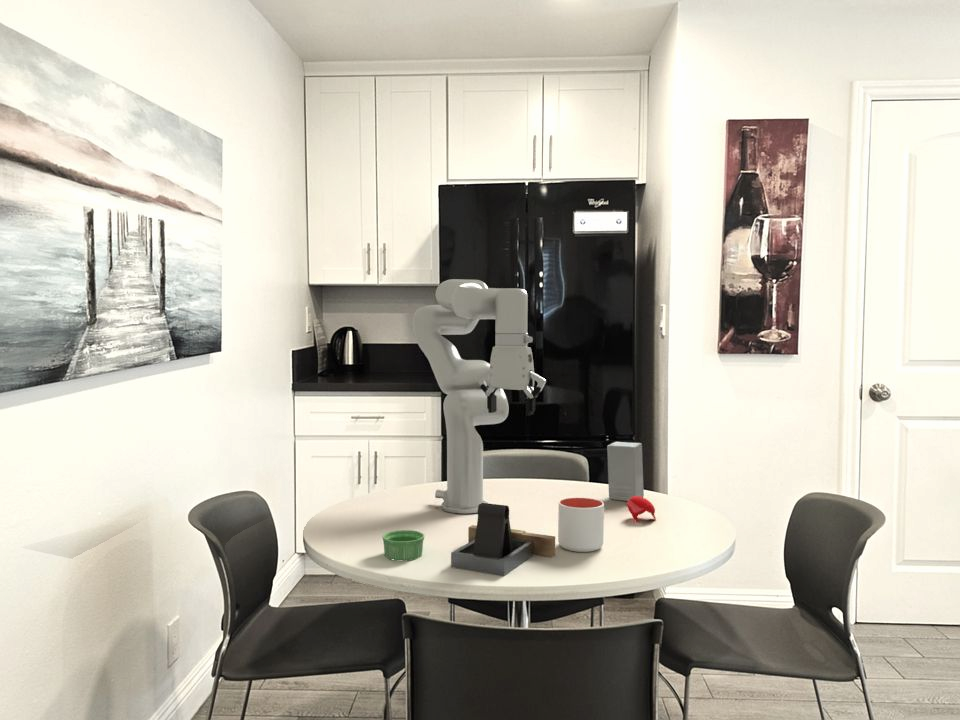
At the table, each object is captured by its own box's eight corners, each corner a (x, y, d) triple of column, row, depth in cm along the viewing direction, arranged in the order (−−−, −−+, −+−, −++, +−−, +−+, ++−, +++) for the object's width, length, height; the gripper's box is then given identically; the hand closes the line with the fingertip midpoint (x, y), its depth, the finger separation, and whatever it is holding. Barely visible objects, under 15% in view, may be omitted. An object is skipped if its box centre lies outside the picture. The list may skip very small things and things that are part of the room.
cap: (627, 511, 195) (648, 499, 195) (621, 497, 201) (642, 486, 200) (641, 533, 198) (662, 521, 198) (635, 519, 204) (655, 508, 203)
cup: (592, 556, 169) (592, 510, 169) (550, 549, 175) (550, 504, 174) (610, 545, 178) (611, 501, 177) (570, 538, 183) (570, 495, 182)
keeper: (451, 567, 162) (451, 552, 162) (483, 547, 175) (483, 534, 175) (504, 575, 157) (504, 561, 156) (533, 555, 170) (533, 541, 170)
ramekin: (389, 564, 164) (389, 543, 164) (377, 552, 172) (377, 532, 172) (430, 559, 168) (430, 538, 167) (416, 547, 176) (416, 528, 176)
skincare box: (644, 498, 222) (644, 442, 222) (634, 503, 216) (635, 446, 216) (615, 494, 227) (616, 440, 226) (605, 499, 221) (606, 443, 220)
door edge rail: (468, 544, 177) (468, 525, 177) (472, 542, 179) (472, 523, 179) (551, 557, 169) (551, 537, 168) (555, 554, 170) (555, 534, 170)
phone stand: (489, 553, 171) (489, 498, 171) (514, 557, 169) (515, 501, 168) (471, 565, 163) (471, 507, 163) (497, 569, 161) (497, 511, 160)
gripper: (551, 341, 185) (550, 414, 186) (485, 340, 193) (485, 409, 194) (539, 342, 178) (538, 417, 179) (471, 340, 186) (471, 413, 187)
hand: (510, 413), depth 187 cm, fingers open, 9 cm apart
